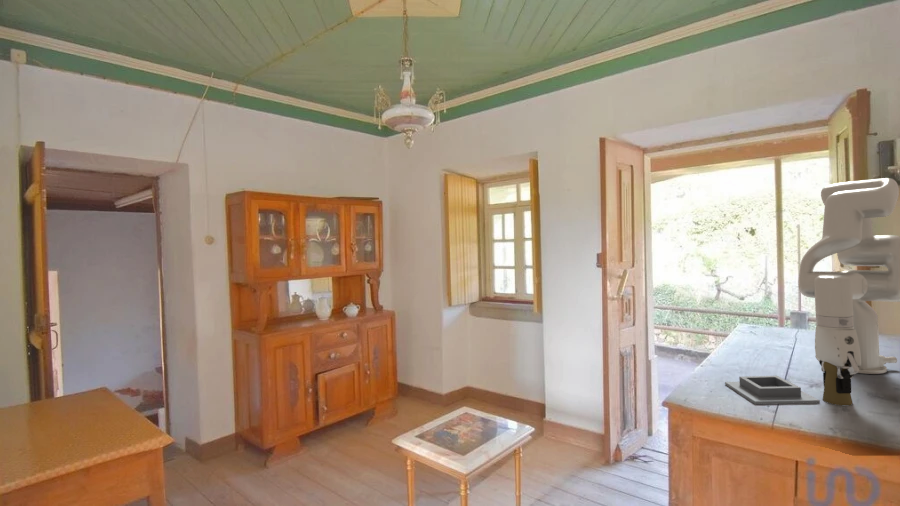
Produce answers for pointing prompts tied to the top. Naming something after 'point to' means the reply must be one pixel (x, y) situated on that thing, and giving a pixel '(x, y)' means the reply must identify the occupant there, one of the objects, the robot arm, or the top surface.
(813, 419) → the top surface
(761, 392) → the bay base
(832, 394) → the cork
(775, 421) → the top surface
